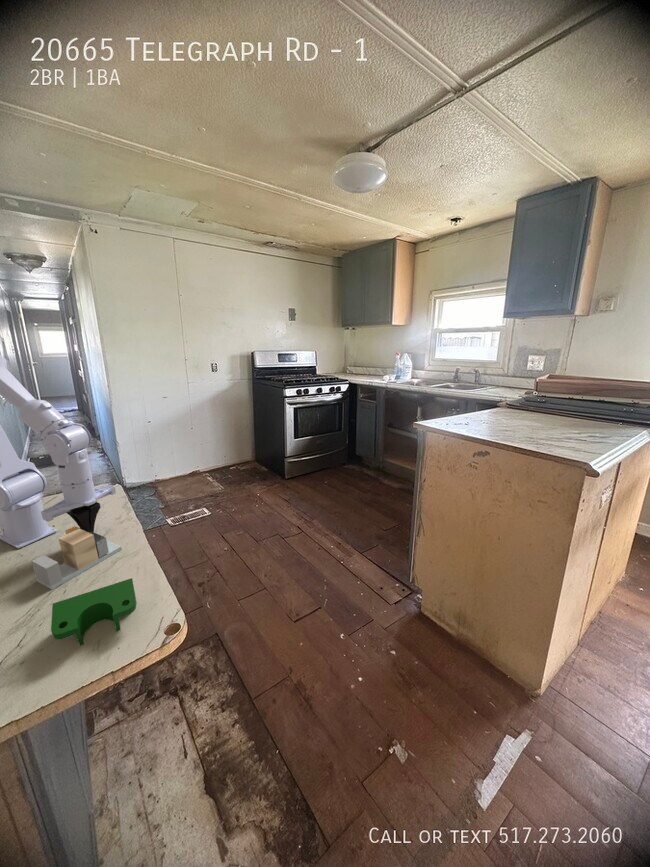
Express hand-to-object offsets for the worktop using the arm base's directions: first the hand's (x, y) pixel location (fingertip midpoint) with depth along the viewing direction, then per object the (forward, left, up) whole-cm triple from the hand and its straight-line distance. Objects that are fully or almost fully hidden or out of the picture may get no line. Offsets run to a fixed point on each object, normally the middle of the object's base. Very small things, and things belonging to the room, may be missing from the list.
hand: (88, 533), depth 78 cm
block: (+7, -5, -2) cm, 9 cm away
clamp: (+26, -13, -3) cm, 29 cm away
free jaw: (+3, -2, -2) cm, 4 cm away
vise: (+7, -5, -2) cm, 9 cm away
